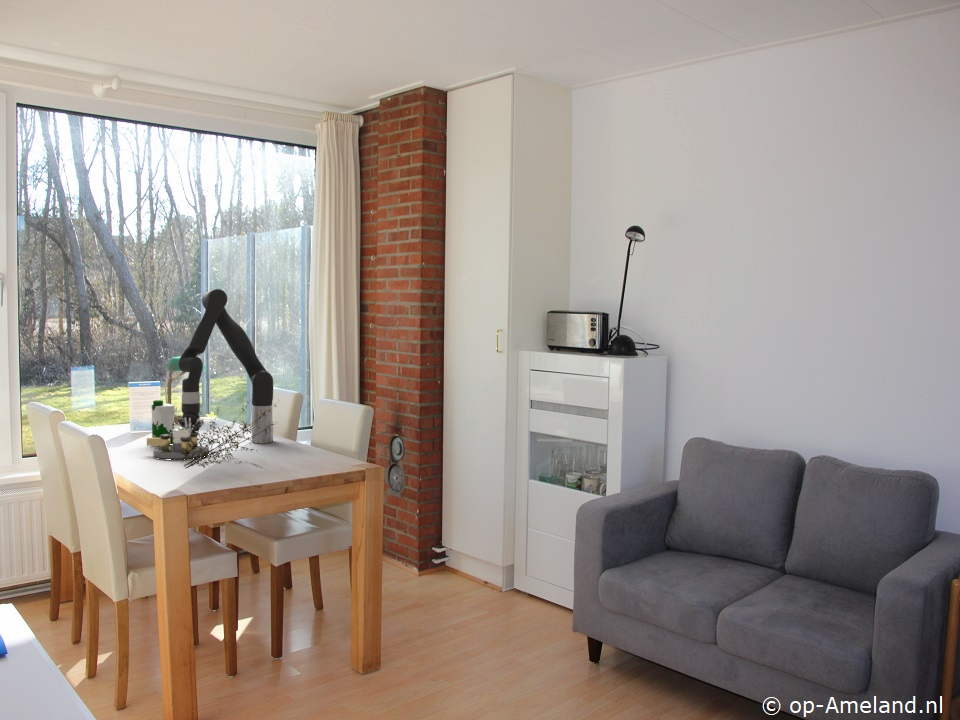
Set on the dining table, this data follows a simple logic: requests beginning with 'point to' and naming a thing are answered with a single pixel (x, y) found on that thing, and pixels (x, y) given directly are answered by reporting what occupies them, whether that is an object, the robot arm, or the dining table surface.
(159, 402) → the milk carton
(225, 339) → the robot arm
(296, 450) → the dining table surface
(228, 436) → the dried plant
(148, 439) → the knob front
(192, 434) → the knob near
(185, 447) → the knob left
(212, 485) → the dining table surface
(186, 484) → the dining table surface
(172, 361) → the banker's lamp
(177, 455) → the base
